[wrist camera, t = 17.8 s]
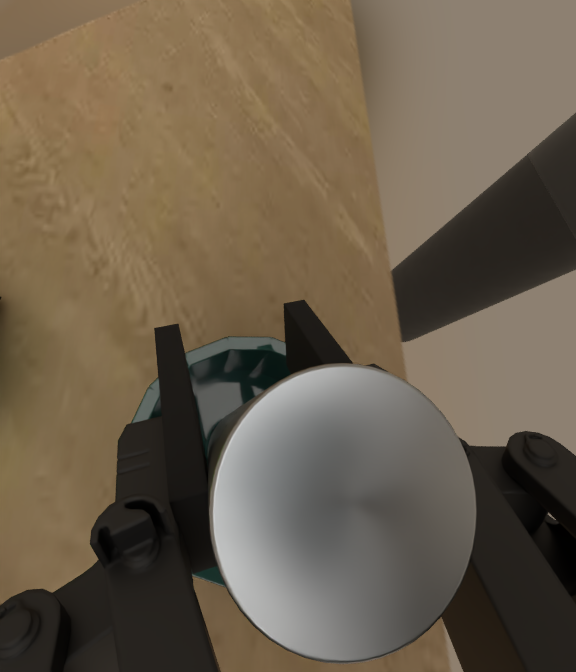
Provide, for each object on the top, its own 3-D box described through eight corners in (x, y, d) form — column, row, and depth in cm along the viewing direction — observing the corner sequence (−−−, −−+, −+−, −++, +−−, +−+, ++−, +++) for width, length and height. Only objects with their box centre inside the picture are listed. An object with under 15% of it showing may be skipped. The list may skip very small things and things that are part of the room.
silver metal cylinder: (273, 393, 17) (404, 324, 6) (307, 472, 17) (524, 567, 5) (194, 428, 16) (163, 430, 5) (228, 513, 16) (282, 737, 4)
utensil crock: (279, 338, 25) (307, 305, 18) (345, 486, 23) (401, 510, 17) (123, 402, 22) (87, 390, 15) (188, 572, 21) (180, 640, 14)
